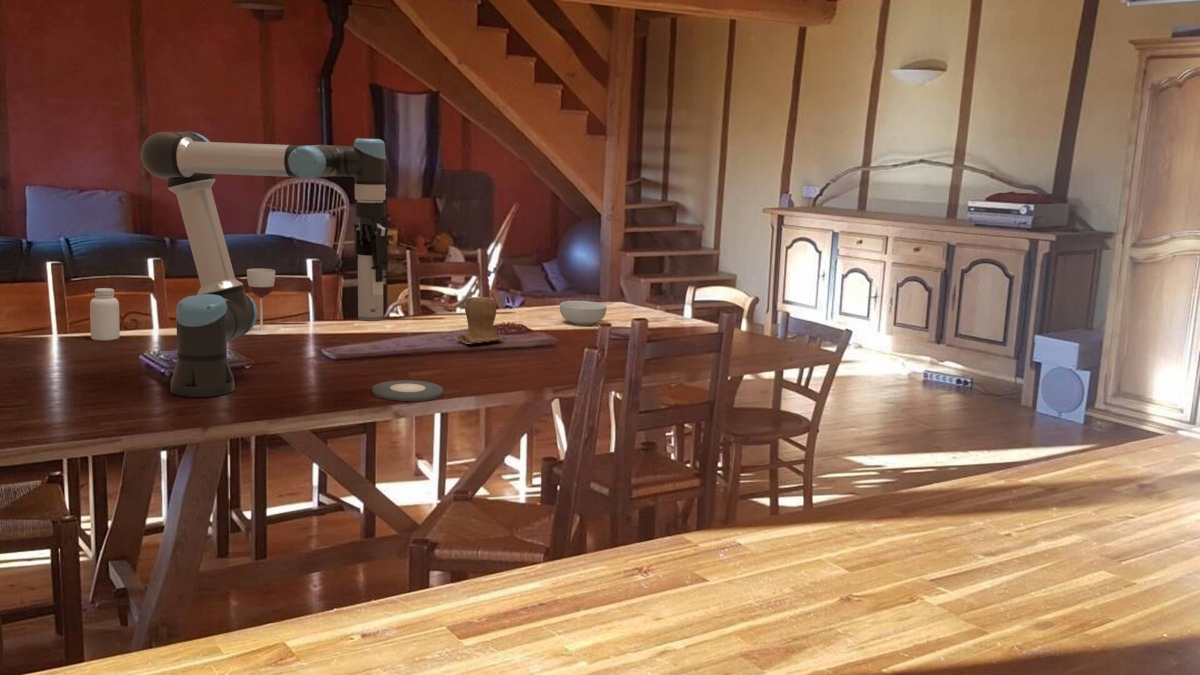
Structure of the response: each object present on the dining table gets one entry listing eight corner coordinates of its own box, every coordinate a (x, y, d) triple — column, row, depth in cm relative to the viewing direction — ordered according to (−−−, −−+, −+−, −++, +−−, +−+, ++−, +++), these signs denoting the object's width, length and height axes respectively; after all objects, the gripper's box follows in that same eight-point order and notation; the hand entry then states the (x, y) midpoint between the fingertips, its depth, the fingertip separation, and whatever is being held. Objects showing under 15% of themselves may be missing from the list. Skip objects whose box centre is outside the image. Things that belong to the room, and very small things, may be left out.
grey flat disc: (393, 404, 269) (393, 399, 269) (359, 389, 283) (359, 383, 283) (456, 396, 281) (456, 391, 280) (420, 382, 294) (420, 377, 294)
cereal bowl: (554, 325, 390) (555, 305, 388) (564, 318, 406) (564, 299, 405) (601, 329, 387) (602, 309, 386) (608, 321, 403) (610, 302, 402)
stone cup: (484, 337, 361) (485, 292, 359) (507, 343, 353) (509, 297, 351) (447, 341, 351) (449, 295, 348) (471, 348, 343) (472, 300, 340)
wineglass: (271, 335, 345) (270, 272, 342) (243, 333, 345) (243, 271, 342) (278, 330, 353) (278, 269, 349) (251, 329, 353) (251, 267, 350)
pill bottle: (125, 338, 328) (124, 289, 326) (101, 342, 322) (99, 292, 319) (109, 335, 333) (108, 286, 330) (85, 338, 326) (83, 288, 323)
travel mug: (378, 322, 274) (378, 243, 270) (354, 320, 275) (353, 241, 272) (388, 318, 280) (388, 240, 277) (364, 316, 281) (363, 239, 278)
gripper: (402, 203, 267) (402, 296, 272) (366, 198, 282) (367, 287, 286) (374, 204, 263) (375, 298, 267) (339, 199, 277) (340, 288, 282)
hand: (371, 292), depth 277 cm, fingers closed on travel mug, 6 cm apart
